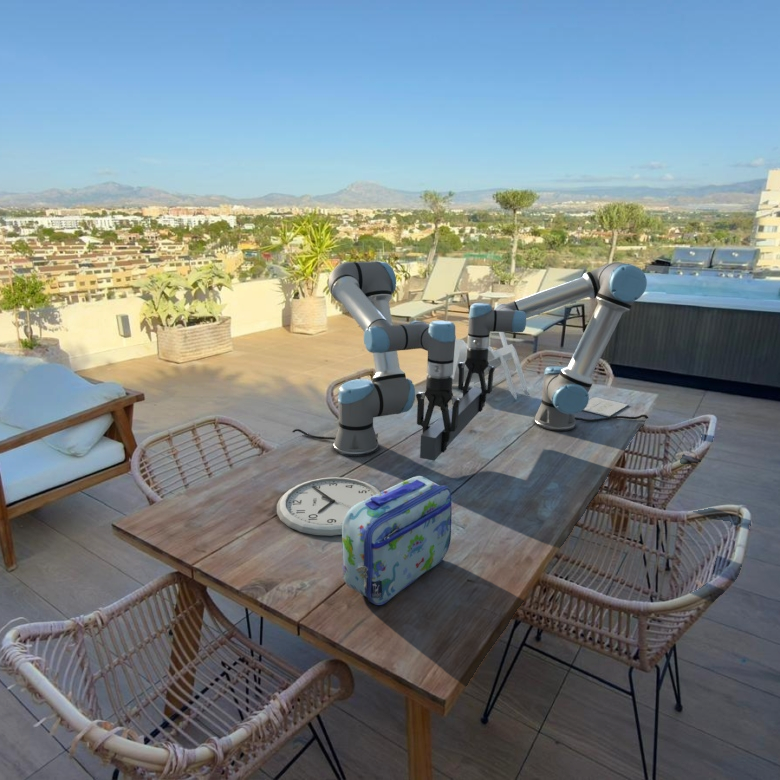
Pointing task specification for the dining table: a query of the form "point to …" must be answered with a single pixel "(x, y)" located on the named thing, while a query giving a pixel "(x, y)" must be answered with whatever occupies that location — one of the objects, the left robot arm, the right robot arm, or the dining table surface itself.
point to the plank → (467, 412)
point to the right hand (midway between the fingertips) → (473, 409)
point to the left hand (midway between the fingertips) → (435, 448)
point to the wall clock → (322, 504)
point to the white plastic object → (490, 363)
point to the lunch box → (395, 537)
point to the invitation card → (603, 406)
